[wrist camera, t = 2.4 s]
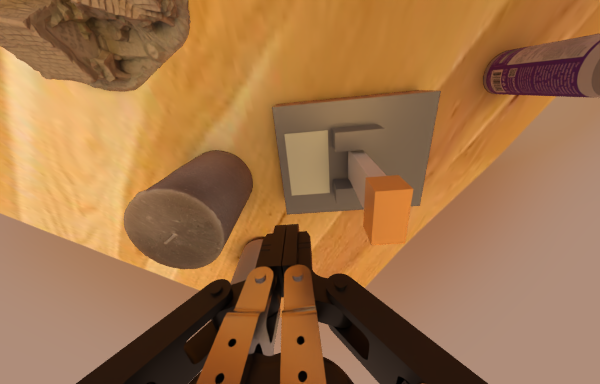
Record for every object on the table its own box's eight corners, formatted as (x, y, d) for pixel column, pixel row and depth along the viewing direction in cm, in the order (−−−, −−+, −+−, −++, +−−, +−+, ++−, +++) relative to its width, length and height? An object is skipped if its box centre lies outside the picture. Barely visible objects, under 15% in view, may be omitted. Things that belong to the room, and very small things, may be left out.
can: (239, 238, 38) (212, 298, 27) (279, 233, 37) (269, 292, 26) (249, 268, 41) (230, 332, 30) (287, 264, 41) (281, 329, 30)
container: (511, 96, 27) (717, 105, 13) (475, 91, 27) (648, 95, 13) (533, 53, 25) (805, 12, 11) (495, 47, 25) (724, -2, 11)
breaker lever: (343, 144, 25) (375, 191, 14) (364, 143, 25) (413, 189, 13) (343, 179, 27) (371, 245, 16) (362, 177, 27) (404, 243, 15)
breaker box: (277, 104, 28) (267, 109, 21) (417, 90, 27) (459, 91, 20) (289, 197, 34) (285, 227, 27) (404, 189, 33) (431, 217, 26)
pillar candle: (219, 216, 36) (170, 292, 22) (176, 169, 32) (87, 228, 19) (265, 188, 34) (242, 256, 20) (225, 135, 30) (163, 174, 16)
